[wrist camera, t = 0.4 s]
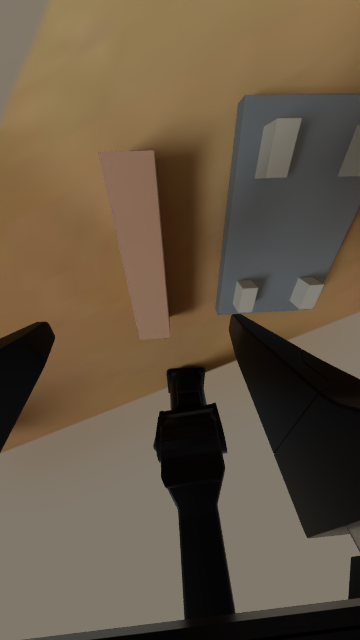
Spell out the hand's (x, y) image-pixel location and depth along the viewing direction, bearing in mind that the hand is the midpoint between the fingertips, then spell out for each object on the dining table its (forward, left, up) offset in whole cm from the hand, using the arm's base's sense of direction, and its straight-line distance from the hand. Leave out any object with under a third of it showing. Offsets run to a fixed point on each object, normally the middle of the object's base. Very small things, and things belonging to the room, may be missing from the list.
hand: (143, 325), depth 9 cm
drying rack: (+1, -13, -13) cm, 18 cm away
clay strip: (-1, +1, -13) cm, 13 cm away
